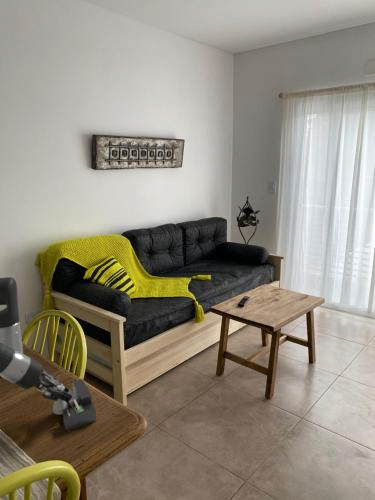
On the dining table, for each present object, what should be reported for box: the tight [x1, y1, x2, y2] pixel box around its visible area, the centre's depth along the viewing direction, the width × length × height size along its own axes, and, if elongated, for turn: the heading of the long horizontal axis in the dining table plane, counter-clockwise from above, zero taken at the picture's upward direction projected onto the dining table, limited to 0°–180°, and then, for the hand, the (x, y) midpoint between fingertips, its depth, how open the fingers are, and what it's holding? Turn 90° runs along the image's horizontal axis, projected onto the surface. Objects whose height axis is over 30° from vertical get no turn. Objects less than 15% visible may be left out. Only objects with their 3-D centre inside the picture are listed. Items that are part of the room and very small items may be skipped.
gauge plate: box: [68, 388, 80, 410], centre depth 113 cm, size 11×1×4 cm, turn 30°
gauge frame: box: [62, 378, 97, 431], centre depth 114 cm, size 14×8×6 cm, turn 30°
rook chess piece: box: [52, 383, 70, 416], centre depth 113 cm, size 4×4×8 cm
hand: (68, 395), depth 114 cm, fingers closed on rook chess piece, 3 cm apart
